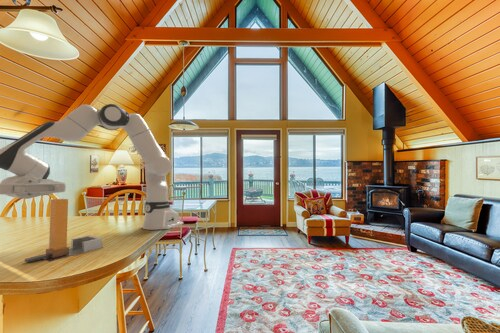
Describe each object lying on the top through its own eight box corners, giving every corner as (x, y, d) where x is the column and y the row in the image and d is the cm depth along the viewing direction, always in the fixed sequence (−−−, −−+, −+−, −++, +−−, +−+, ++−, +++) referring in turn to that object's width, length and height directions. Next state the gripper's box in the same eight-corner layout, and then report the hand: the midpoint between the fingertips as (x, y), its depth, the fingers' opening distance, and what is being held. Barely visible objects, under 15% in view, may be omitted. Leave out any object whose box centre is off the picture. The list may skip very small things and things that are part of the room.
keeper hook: (89, 244, 96) (89, 235, 96) (102, 247, 91) (102, 238, 91) (71, 248, 90) (71, 239, 90) (83, 252, 86) (84, 242, 86)
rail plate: (90, 245, 96) (90, 243, 96) (103, 249, 92) (103, 247, 92) (37, 258, 81) (37, 256, 81) (49, 263, 77) (49, 261, 77)
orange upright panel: (62, 251, 86) (64, 198, 86) (69, 253, 83) (70, 199, 84) (22, 261, 76) (25, 201, 77) (29, 264, 74) (31, 202, 75)
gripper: (-11, 179, 87) (4, 180, 80) (56, 179, 105) (72, 180, 98) (-12, 197, 87) (3, 199, 80) (55, 193, 105) (72, 195, 98)
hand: (42, 188), depth 89 cm, fingers open, 8 cm apart
